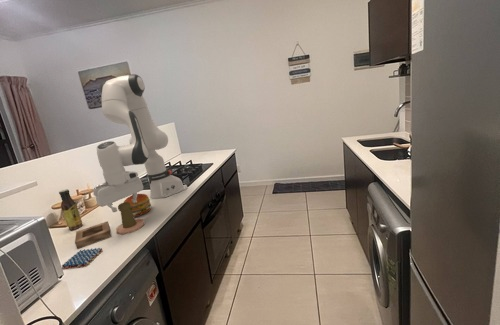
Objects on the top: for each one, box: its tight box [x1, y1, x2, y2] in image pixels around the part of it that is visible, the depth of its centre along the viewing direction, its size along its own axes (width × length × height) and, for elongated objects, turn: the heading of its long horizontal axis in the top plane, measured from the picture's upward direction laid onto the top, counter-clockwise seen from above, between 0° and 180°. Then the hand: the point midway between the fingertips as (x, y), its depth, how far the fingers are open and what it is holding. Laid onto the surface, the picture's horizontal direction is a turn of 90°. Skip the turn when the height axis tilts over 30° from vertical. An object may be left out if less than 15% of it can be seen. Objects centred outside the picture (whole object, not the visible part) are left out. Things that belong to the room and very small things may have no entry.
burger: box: [123, 193, 152, 217], centre depth 136 cm, size 14×14×10 cm
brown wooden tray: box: [74, 221, 112, 250], centre depth 117 cm, size 13×13×3 cm
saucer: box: [116, 218, 145, 235], centre depth 121 cm, size 12×12×1 cm
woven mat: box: [61, 247, 104, 270], centre depth 99 cm, size 10×11×2 cm
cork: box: [117, 201, 137, 228], centre depth 119 cm, size 6×6×11 cm
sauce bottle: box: [58, 189, 83, 231], centre depth 129 cm, size 6×6×20 cm
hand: (125, 207), depth 118 cm, fingers open, 8 cm apart
